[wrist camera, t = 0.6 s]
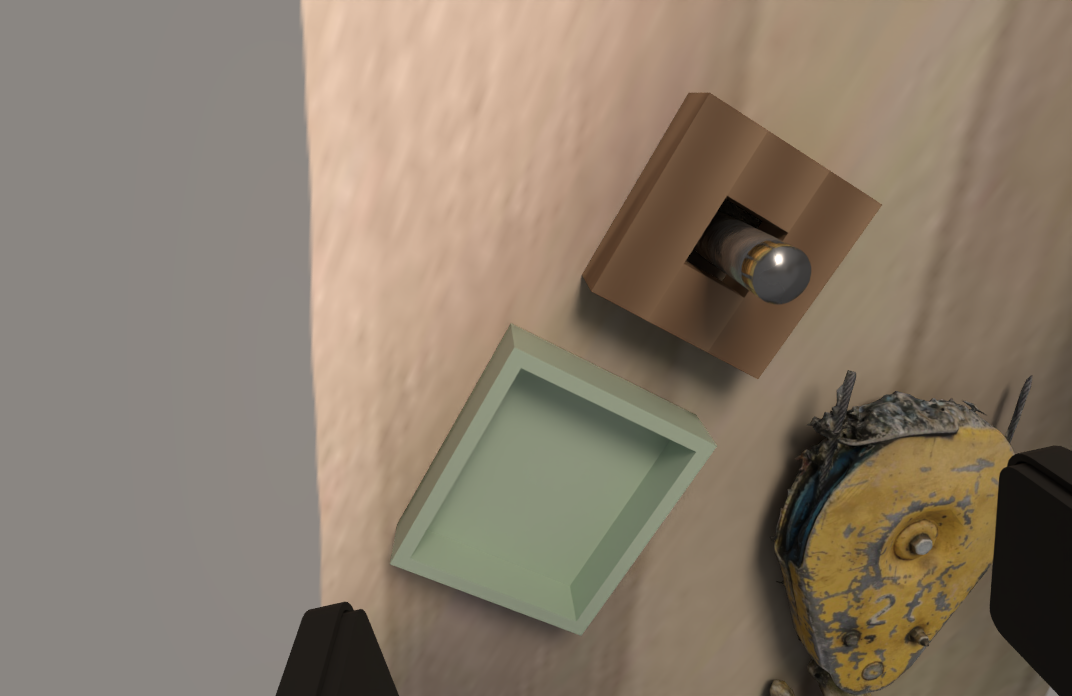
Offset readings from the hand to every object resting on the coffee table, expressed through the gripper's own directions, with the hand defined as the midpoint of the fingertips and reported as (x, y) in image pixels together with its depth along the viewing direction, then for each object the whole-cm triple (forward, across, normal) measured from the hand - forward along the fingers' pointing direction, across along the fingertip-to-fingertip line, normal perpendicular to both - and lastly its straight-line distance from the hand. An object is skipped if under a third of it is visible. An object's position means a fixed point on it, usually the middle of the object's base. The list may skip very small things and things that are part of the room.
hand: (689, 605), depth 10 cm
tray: (+25, +3, +13) cm, 28 cm away
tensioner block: (+25, -9, +2) cm, 27 cm away
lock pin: (+25, -9, +2) cm, 27 cm away
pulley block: (+26, -15, +26) cm, 39 cm away
